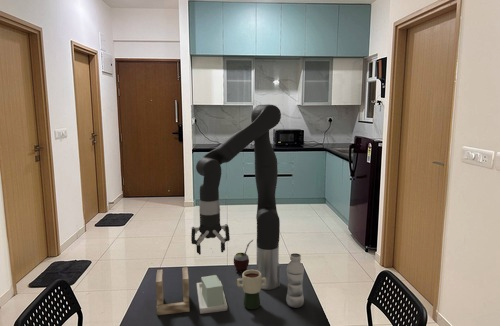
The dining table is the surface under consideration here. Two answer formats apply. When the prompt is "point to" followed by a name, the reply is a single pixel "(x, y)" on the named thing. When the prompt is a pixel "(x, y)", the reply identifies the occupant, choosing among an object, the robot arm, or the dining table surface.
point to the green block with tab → (212, 290)
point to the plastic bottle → (295, 281)
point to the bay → (173, 306)
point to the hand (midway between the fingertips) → (210, 252)
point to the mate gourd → (241, 261)
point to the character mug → (251, 288)
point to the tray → (210, 309)
